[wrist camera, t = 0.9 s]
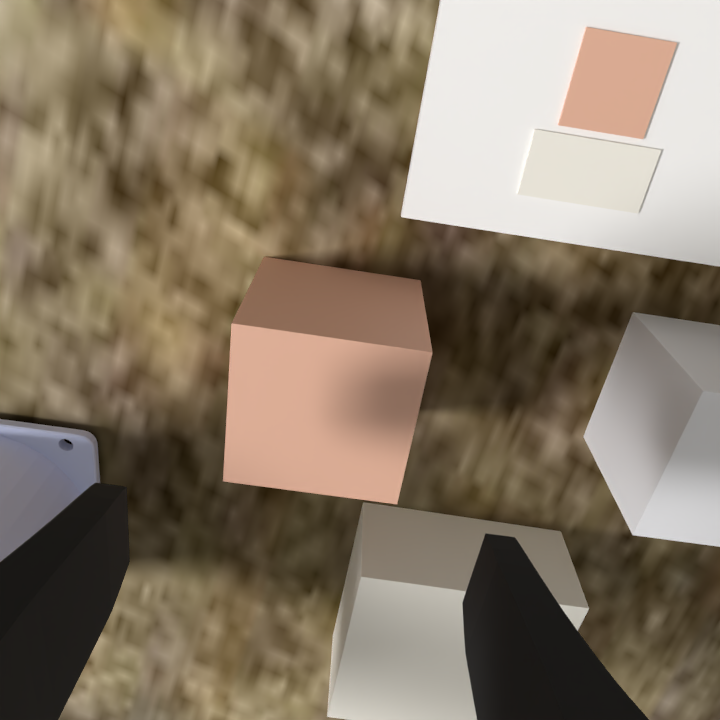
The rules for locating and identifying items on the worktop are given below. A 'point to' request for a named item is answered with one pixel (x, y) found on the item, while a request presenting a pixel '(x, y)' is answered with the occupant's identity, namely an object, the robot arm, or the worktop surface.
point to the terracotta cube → (325, 380)
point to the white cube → (663, 429)
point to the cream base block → (422, 611)
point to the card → (574, 124)
